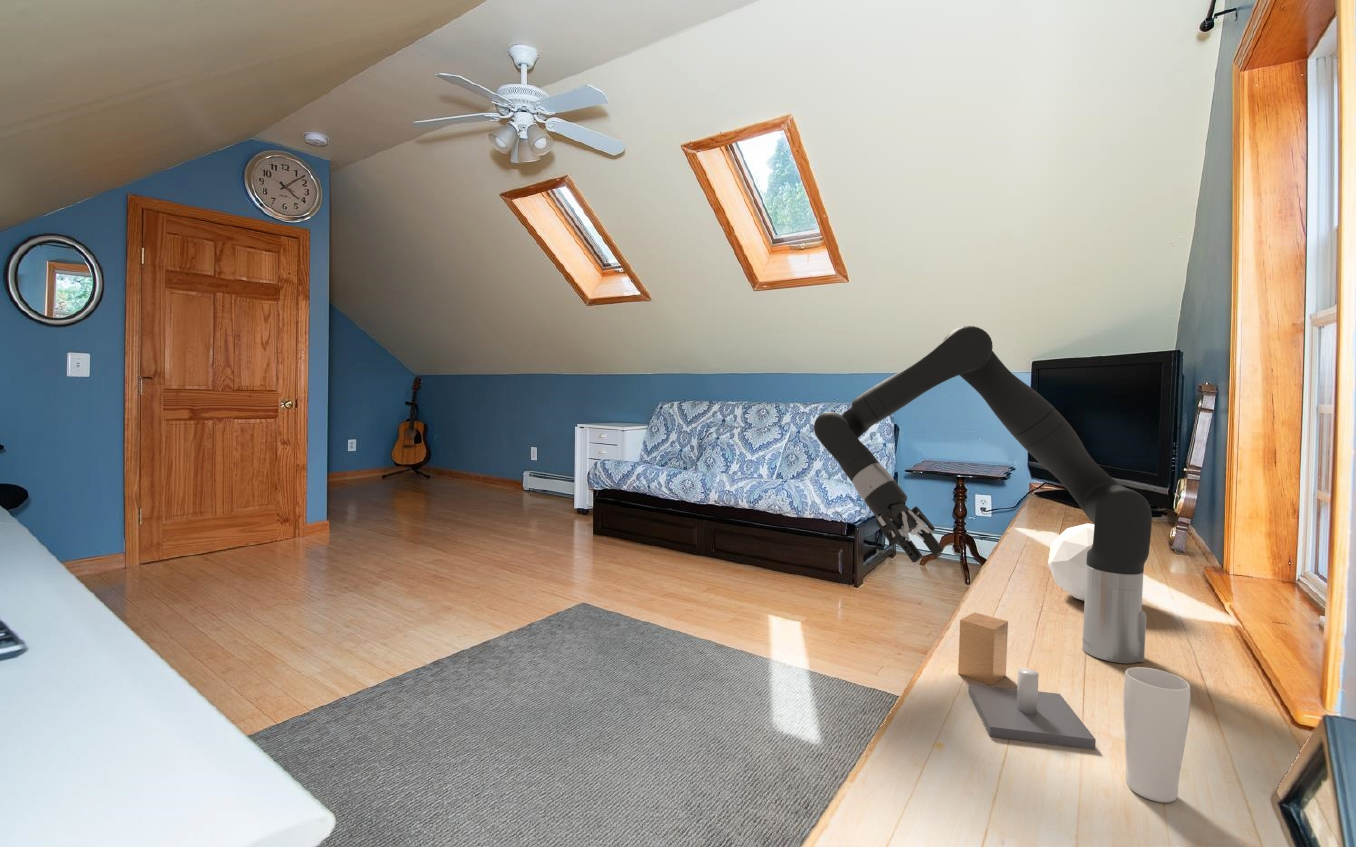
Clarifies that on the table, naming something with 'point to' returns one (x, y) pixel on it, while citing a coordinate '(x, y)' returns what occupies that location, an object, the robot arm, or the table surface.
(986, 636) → the wooden block
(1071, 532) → the geometric orb
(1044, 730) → the post base
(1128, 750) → the drinking glass
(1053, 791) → the table surface
